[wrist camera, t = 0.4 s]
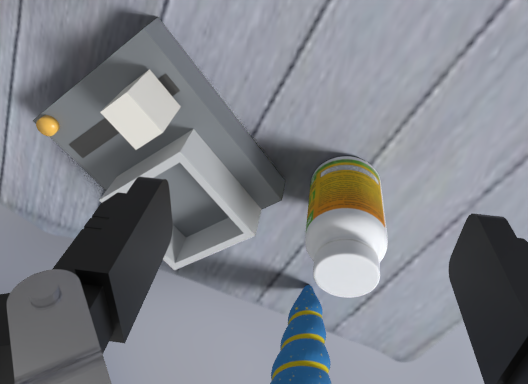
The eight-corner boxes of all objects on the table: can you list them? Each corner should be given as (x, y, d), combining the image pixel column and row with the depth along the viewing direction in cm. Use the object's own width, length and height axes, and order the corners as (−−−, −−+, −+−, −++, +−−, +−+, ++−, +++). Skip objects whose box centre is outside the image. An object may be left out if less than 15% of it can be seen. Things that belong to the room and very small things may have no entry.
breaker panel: (158, 17, 27) (123, 44, 23) (285, 181, 33) (277, 226, 29) (51, 105, 32) (6, 141, 28) (178, 232, 39) (158, 277, 34)
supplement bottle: (303, 160, 32) (291, 249, 24) (375, 148, 30) (387, 240, 23) (318, 213, 35) (311, 307, 27) (384, 205, 33) (396, 303, 26)
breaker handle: (149, 69, 26) (127, 92, 23) (180, 106, 27) (163, 132, 25) (124, 88, 27) (100, 112, 24) (155, 123, 29) (135, 150, 26)
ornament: (291, 305, 43) (272, 468, 31) (273, 271, 40) (245, 436, 28) (340, 298, 41) (340, 469, 29) (325, 263, 38) (318, 435, 27)
